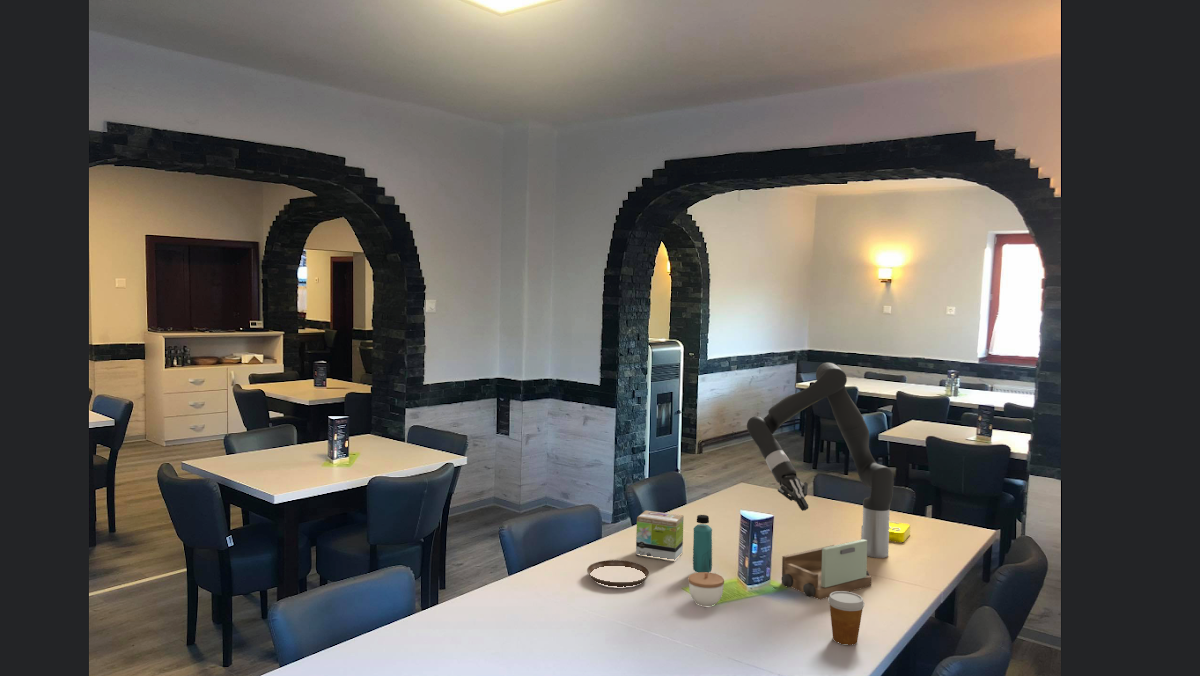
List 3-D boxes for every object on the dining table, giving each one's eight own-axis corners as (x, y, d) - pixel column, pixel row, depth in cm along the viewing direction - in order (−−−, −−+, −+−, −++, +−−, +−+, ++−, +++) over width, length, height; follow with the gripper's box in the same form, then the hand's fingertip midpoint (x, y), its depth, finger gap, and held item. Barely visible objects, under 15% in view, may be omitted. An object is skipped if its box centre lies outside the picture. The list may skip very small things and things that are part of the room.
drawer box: (779, 583, 248) (779, 556, 248) (835, 570, 262) (836, 544, 262) (816, 600, 235) (817, 571, 234) (873, 585, 248) (874, 557, 248)
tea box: (635, 557, 273) (635, 516, 273) (644, 548, 283) (644, 509, 282) (675, 562, 268) (676, 521, 267) (683, 554, 277) (684, 514, 276)
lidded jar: (701, 612, 224) (701, 581, 224) (681, 600, 234) (681, 569, 233) (730, 606, 229) (731, 575, 229) (709, 594, 239) (710, 564, 238)
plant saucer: (662, 580, 251) (662, 570, 251) (620, 597, 236) (620, 586, 236) (615, 564, 265) (615, 555, 265) (573, 580, 250) (573, 570, 250)
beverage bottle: (711, 578, 253) (712, 518, 252) (691, 576, 254) (692, 517, 253) (712, 571, 259) (713, 513, 258) (692, 570, 260) (694, 512, 259)
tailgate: (821, 586, 238) (822, 548, 237) (862, 575, 248) (863, 539, 247) (826, 588, 236) (827, 550, 236) (867, 577, 246) (868, 541, 245)
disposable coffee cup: (821, 633, 211) (822, 590, 211) (854, 632, 212) (855, 590, 211) (834, 648, 202) (836, 604, 201) (869, 647, 202) (870, 603, 202)
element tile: (911, 534, 306) (911, 523, 306) (903, 544, 293) (903, 532, 293) (872, 528, 314) (872, 517, 314) (863, 537, 302) (863, 525, 301)
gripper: (772, 461, 260) (797, 505, 250) (800, 458, 267) (825, 501, 257) (760, 474, 265) (785, 517, 255) (788, 470, 272) (813, 512, 262)
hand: (805, 509), depth 256 cm, fingers closed
